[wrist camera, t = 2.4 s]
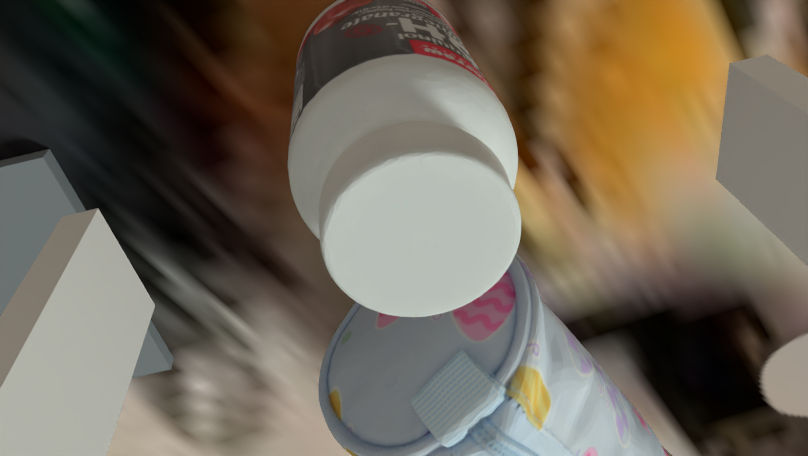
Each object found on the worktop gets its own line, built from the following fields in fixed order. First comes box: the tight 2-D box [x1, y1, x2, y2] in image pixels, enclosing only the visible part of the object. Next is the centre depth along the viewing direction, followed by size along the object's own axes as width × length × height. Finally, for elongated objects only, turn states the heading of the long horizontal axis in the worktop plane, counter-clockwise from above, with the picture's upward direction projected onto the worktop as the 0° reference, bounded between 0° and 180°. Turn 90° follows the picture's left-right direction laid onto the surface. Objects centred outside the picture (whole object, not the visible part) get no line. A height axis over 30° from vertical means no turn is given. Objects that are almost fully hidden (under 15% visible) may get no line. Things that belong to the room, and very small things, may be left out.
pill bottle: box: [287, 0, 521, 317], centre depth 16 cm, size 5×5×10 cm
